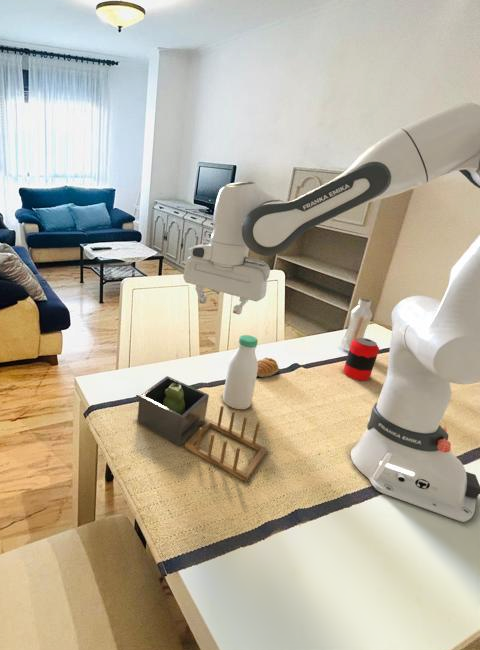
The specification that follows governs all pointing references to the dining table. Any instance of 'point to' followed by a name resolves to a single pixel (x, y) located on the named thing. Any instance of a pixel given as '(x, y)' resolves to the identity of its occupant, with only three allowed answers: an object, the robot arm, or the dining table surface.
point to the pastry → (267, 367)
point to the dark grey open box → (167, 419)
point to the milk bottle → (241, 374)
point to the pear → (175, 398)
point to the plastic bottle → (357, 323)
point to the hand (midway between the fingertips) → (218, 307)
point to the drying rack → (232, 434)
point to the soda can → (361, 359)
